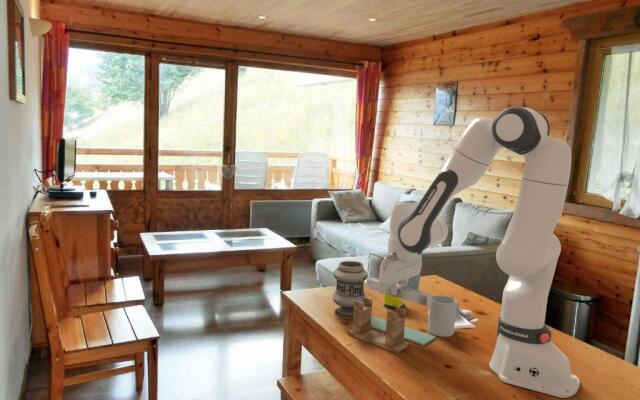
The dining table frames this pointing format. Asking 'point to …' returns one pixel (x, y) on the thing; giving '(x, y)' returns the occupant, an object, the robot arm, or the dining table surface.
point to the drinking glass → (414, 281)
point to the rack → (363, 332)
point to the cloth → (464, 319)
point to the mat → (409, 333)
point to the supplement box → (393, 300)
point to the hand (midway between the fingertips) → (398, 292)
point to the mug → (442, 315)
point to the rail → (401, 292)
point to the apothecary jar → (349, 287)
